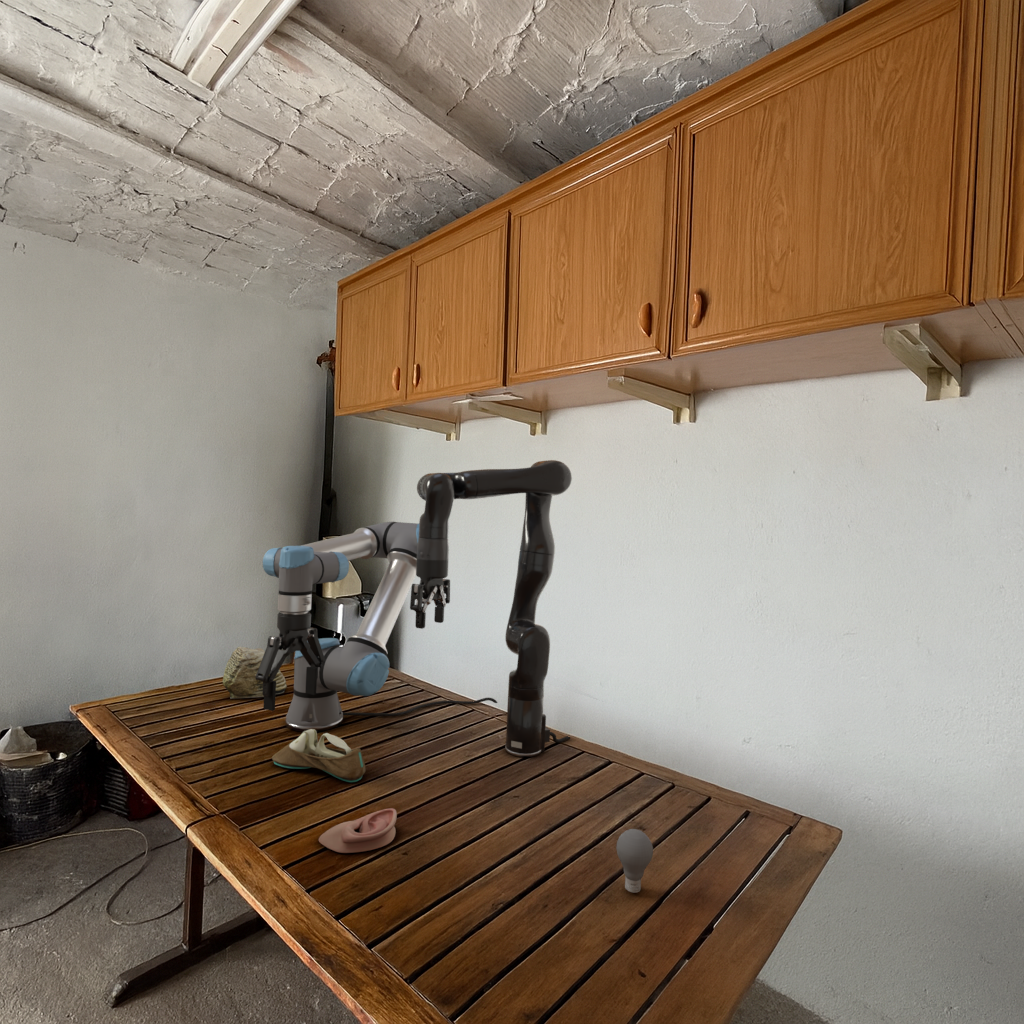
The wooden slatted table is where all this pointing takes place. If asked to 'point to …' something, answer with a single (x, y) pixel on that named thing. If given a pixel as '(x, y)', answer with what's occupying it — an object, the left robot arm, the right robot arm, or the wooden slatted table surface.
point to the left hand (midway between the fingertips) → (290, 701)
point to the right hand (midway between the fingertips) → (429, 625)
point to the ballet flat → (322, 756)
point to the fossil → (247, 674)
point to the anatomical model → (362, 833)
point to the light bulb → (634, 857)
